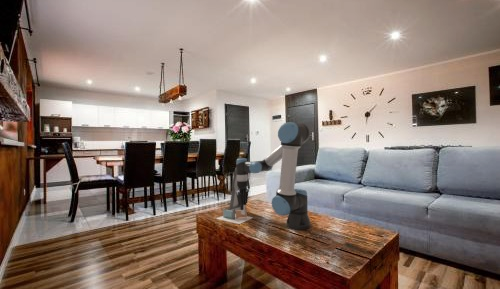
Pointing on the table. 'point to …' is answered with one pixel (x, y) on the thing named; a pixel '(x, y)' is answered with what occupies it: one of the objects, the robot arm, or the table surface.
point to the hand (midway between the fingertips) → (243, 214)
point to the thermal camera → (234, 194)
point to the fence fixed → (229, 213)
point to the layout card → (236, 220)
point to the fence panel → (239, 215)
